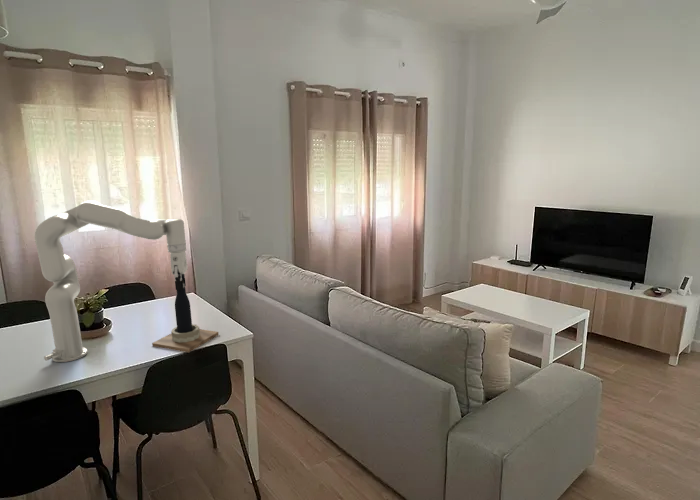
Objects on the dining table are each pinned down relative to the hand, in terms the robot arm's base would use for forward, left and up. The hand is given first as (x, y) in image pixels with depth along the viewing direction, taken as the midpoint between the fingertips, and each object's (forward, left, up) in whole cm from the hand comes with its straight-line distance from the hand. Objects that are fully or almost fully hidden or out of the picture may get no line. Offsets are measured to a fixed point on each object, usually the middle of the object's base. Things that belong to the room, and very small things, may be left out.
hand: (180, 287), depth 192 cm
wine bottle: (0, 0, -22) cm, 22 cm away
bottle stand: (0, 0, -25) cm, 25 cm away
